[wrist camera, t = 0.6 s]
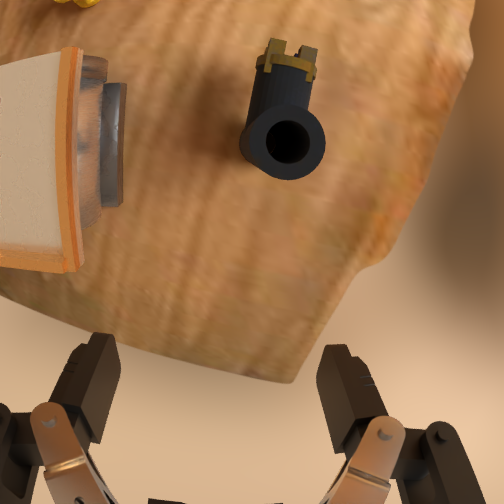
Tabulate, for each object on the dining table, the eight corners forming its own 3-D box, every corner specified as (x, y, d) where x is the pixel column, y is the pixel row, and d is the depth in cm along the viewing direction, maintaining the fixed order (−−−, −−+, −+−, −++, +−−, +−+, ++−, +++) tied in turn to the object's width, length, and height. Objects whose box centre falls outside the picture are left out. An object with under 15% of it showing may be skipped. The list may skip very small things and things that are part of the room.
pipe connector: (253, 63, 31) (272, 11, 16) (299, 73, 31) (347, 31, 17) (234, 161, 34) (240, 172, 20) (281, 169, 35) (319, 187, 21)
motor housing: (42, 77, 28) (-36, 74, 15) (128, 67, 29) (69, 45, 16) (43, 214, 35) (-23, 263, 22) (123, 217, 36) (73, 274, 23)
